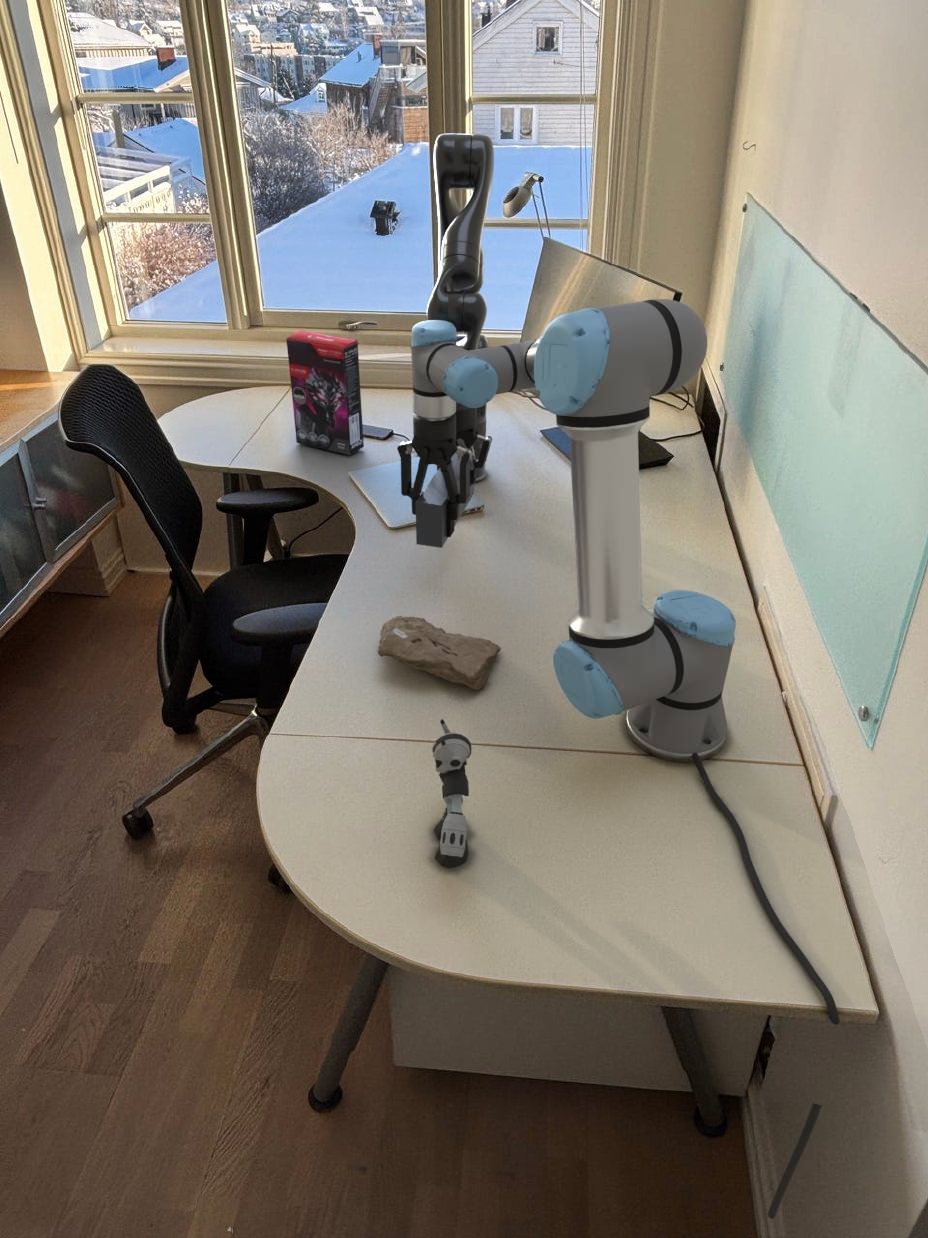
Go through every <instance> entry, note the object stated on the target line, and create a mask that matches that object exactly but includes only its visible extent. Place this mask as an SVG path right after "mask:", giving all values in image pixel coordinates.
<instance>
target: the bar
mask: <svg viewBox="0 0 928 1238" xmlns="http://www.w3.org/2000/svg"><path fill="white" fill-rule="evenodd" d="M474 455H475V454H474ZM451 459H452V467H453V471H454V475H455V479H456V483H457V487H458V490H459V494H460V462H461V461H459V459H458V454H457V453H455V454H454V455H453V456H452V458H451ZM474 495H475V483H474V484H472V486H471V487H470V496H469V498H468V500H467V501H466V503H464V504H463V503H460V504H459V517H458V518H457V520H454V528H455V527H456V526H457V523H458V522H459V520H460V519H461V517H462V515H463V513H464V511H465V510H466V508H467V507H468V506H469V503H470V501H471V499H472V498H473V496H474ZM449 501H450V500H449V496H448V492H447V488H446V485H445V481H444V477H443V473H442V472H441V470H440V468H439V469H438V471H437V470H436V472H435V474H433V476H432V478H431V479H430V480H429V482H428V483H427V485H426V486H425V488H424V489H423V491H422V492H421V494H420V496H419V498H418V499H417V501H416V502H415V503H416V515H415V540H416V541H415V542H416V545H419V546H426V547H433V548H434V547H435V548H439V549H442V548H444V545H445V544H446V542H447V540H448V539H449V537H447V530H446V505H447V504H448V502H449Z"/></svg>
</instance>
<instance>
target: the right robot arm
mask: <svg viewBox="0 0 928 1238" xmlns="http://www.w3.org/2000/svg"><path fill="white" fill-rule="evenodd" d="M544 329H545V330H544V332H543V333H542V334H541V335H540V337H539V338H536V339H531V340H526V341H519V342H513V343H509V344H502V345H495V346H489V347H488V348H482V349H476V350H469V351H468V350H465V349H463V348H461V347H459V346H458V345H457V340H458V338H457V334H458V333H456V328H455V326H454V325H453V324H452V323H450V322H447V321H442V320H423V321H419V322H418V323H416V324H414V325H413V327H412V328H411V344H410V353H411V379H412V413H413V416H412V427H413V429H412V431H413V438H412V439H411V440H409V441H407V440H402V441H401V442H400V443H399V445H398V446H397V447H396V449H397V452H398V456H399V457H400V489H401V491H400V492H401V495H402V496H403V497H408V498H410V500H411V513H412V515H413V516H416V503H415V502H416V501H417V499H418V498H419V496H420V495H421V494H422V492H423V491H422V490H423V486H424V482H425V479H426V475H427V473H428V472H427V471H428V467H429V465H434V466H436V467H437V466H440V470H441V472H442V473H443V477H444V481H445V485H446V488H447V492H448V496H449V500H450V501H449V502H448V504H447V505H446V530H447V537H448V538H452V536H453V534H454V532H455V527H454V520H457V518H458V517H459V504H460V503H463V504H464V503H466V501H467V500H468V498H469V496H470V458H471V456H472V453H473V450H472V449H471V448H468V449H464V448H462V447H460V446H459V444H458V442H457V439H456V415H455V414H454V413H455V412H456V402H457V403H461V404H462V405H464V406H466V407H469V408H478V407H482V406H484V405H485V404H486V403H489V402H490V401H492V400H493V399H494V397H495V396H496V395H501V394H506V393H510V392H517V391H522V390H529V389H536V392H537V394H539V401H540V403H541V405H542V406H543V407H544V408H545V410H546V411H548V412H549V413H550V414H553V415H555V421H556V422H555V423H556V426H557V427H558V428H559V429H560V430H561V431H563V432H564V433H565V434H566V435H567V437H568V438H569V454H570V455H569V456H570V458H569V459H570V475H571V492H572V507H573V508H572V510H573V512H572V513H573V528H574V547H575V564H576V565H575V568H576V586H577V602H578V609H577V610H575V611H574V613H572V614H571V616H570V617H569V619H568V625H567V626H568V639H567V640H563V641H561V642H560V643H559V644H557V645H556V647H555V649H554V651H553V654H552V655H553V656H552V661H553V668H554V672H555V676H556V679H557V681H558V684H559V686H560V688H561V690H562V691H563V694H564V695H565V696H566V698H567V700H568V701H569V703H570V704H571V705H572V706H573V707H574V708H575V709H576V710H577V711H578V712H579V713H581V714H582V715H583V716H585V717H587V718H589V719H594V720H597V719H603V718H606V717H610V716H613V715H615V716H616V715H617V716H618V715H621V714H622V713H623V712H626V719H625V728H626V732H627V734H628V736H629V738H630V739H631V741H632V742H634V744H636V745H637V746H638V747H639V748H640V749H641V750H643V751H645V752H646V753H648V754H650V755H651V756H654V757H656V758H659V759H662V760H666V761H670V762H675V763H694V765H695V767H696V769H697V771H698V774H699V776H700V779H701V780H702V783H703V785H704V787H705V789H706V791H707V793H708V794H709V796H710V797H711V799H712V800H713V802H714V803H715V804H716V806H717V807H718V808H719V810H720V811H721V813H722V814H723V815H724V816H725V818H726V819H727V821H728V823H729V824H730V826H731V828H732V830H733V833H734V834H735V837H736V841H737V842H738V846H739V849H740V853H741V854H740V855H741V856H742V857H741V858H742V859H743V860H742V861H743V863H744V867H745V869H746V871H747V874H748V876H749V879H750V881H751V883H752V886H753V888H754V890H755V893H756V895H757V897H758V899H759V902H760V903H761V906H762V908H763V909H764V911H765V913H766V915H767V917H768V919H769V920H770V922H771V924H772V925H773V927H774V929H775V930H776V931H777V933H778V935H779V936H780V937H781V939H782V940H783V941H784V943H785V944H786V945H787V947H788V948H789V950H790V951H791V952H792V954H793V955H794V956H795V958H796V959H797V961H798V962H799V964H800V965H801V966H802V968H803V969H804V971H805V972H806V973H807V975H808V977H809V978H810V980H811V981H812V983H813V984H814V986H815V987H816V988H817V989H818V991H819V993H820V994H821V997H822V998H823V1000H824V1002H825V1005H826V1009H827V1012H828V1016H829V1020H830V1022H831V1023H832V1024H833V1025H837V1026H838V1025H839V1024H840V1018H839V1012H838V1008H837V1005H836V1002H835V999H834V997H833V995H832V992H831V991H830V989H829V988H828V986H827V984H826V983H825V982H824V981H823V979H822V978H821V977H820V975H819V974H818V973H817V971H816V969H815V968H814V967H813V965H812V963H811V962H810V960H809V959H808V957H807V956H806V955H805V954H804V951H802V949H801V948H800V946H799V945H798V944H797V943H796V941H795V940H794V939H793V937H792V936H791V935H790V934H789V932H788V931H787V929H786V928H785V926H784V925H783V923H782V922H781V920H780V919H779V917H778V915H777V913H776V911H775V909H774V908H773V906H772V904H771V902H770V901H769V898H768V896H767V894H766V892H765V890H764V888H763V885H762V883H761V881H760V878H759V876H758V873H757V872H756V869H755V866H754V863H753V861H752V858H751V854H750V851H749V848H748V844H747V841H746V838H745V835H744V832H743V830H742V828H741V826H740V825H739V822H738V820H737V819H736V817H735V816H734V814H733V812H731V810H730V809H729V807H728V806H727V805H726V804H725V802H724V801H723V799H722V798H721V797H720V796H719V794H718V793H717V791H716V790H715V788H714V786H713V784H712V782H711V780H710V778H709V775H708V773H707V770H706V767H704V764H703V762H702V761H703V760H706V759H709V758H711V757H714V755H716V754H718V752H720V751H721V750H722V748H723V747H724V744H725V743H726V740H727V739H726V738H727V734H728V721H727V716H726V712H725V708H724V707H725V706H724V701H723V692H724V687H725V682H726V678H727V674H728V669H729V664H730V661H731V654H732V652H733V647H734V644H735V641H736V637H735V632H736V627H737V626H736V625H737V623H736V617H735V615H734V614H733V612H732V610H731V609H730V608H729V607H728V606H727V605H726V604H724V603H723V602H722V601H720V600H719V599H717V598H715V597H712V596H710V595H707V594H705V593H702V592H698V591H693V590H686V589H685V590H684V589H675V590H669V591H665V592H663V593H661V594H659V596H657V597H656V600H655V602H654V604H653V607H652V608H653V612H652V613H651V611H650V610H648V609H647V608H646V607H645V606H644V605H643V580H642V579H643V577H642V576H643V575H642V574H643V573H642V542H641V541H642V539H641V538H642V537H641V535H642V534H641V503H640V501H641V500H640V464H639V457H640V456H639V432H640V431H641V429H642V428H643V426H644V425H645V424H646V423H647V422H648V421H649V420H650V419H651V418H650V417H651V408H650V405H651V404H650V403H651V402H650V400H651V399H650V398H652V397H657V396H661V395H665V394H668V393H671V392H674V391H677V390H678V389H680V388H681V387H684V386H685V385H687V384H688V383H689V382H690V381H692V379H694V378H695V377H696V375H697V374H698V373H699V372H700V369H701V368H702V366H703V365H704V361H705V359H706V356H707V352H708V335H707V330H706V327H705V325H704V322H703V320H702V319H701V318H700V316H699V315H698V314H697V313H696V311H694V310H693V309H692V308H690V307H689V306H688V305H687V304H685V303H683V302H680V301H677V300H674V299H670V298H653V299H646V300H643V301H635V302H628V303H620V304H611V305H605V306H598V307H587V308H581V309H579V310H575V311H571V312H568V313H564V314H561V315H559V316H557V317H556V318H553V320H551V321H550V322H549V323H548V325H546V327H545V328H544ZM413 450H414V452H415V453H416V454H417V456H418V458H419V460H418V465H417V471H416V475H415V478H414V483H413V481H412V452H413ZM455 453H457V454H458V459H459V461H461V462H460V494H459V490H458V487H457V483H456V479H455V475H454V471H453V467H452V459H451V458H452V456H453V455H454V454H455ZM412 483H413V484H412ZM412 485H413V486H412ZM822 1107H823V1105H821V1104H817V1103H814V1102H812V1104H811V1107H810V1110H809V1113H808V1115H807V1119H806V1120H805V1123H804V1127H803V1128H802V1131H801V1133H800V1136H799V1138H798V1140H797V1143H796V1145H795V1147H794V1150H793V1152H792V1154H791V1157H790V1158H789V1160H788V1163H787V1165H786V1168H785V1170H784V1172H783V1174H782V1177H781V1178H780V1181H779V1184H778V1185H777V1188H776V1190H775V1193H774V1195H773V1198H772V1201H771V1204H770V1206H769V1208H768V1212H767V1216H768V1218H769V1219H771V1220H774V1219H776V1217H777V1213H778V1211H779V1208H780V1206H781V1204H782V1201H783V1199H784V1196H785V1193H786V1191H787V1189H788V1186H789V1184H790V1182H791V1180H792V1178H793V1175H794V1173H795V1171H796V1169H797V1167H798V1165H799V1162H800V1161H801V1158H802V1156H803V1154H804V1151H805V1150H806V1147H807V1144H808V1142H809V1140H810V1138H811V1136H812V1133H813V1130H814V1128H815V1125H816V1123H817V1120H818V1118H819V1115H820V1112H821V1109H822Z"/></svg>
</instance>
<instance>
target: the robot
mask: <svg viewBox="0 0 928 1238" xmlns="http://www.w3.org/2000/svg"><path fill="white" fill-rule="evenodd" d="M439 722H440V725H441V727H442V730H443V733H444V734H442V735H441V736H439V737H438V738H437V739H436V740H435V741H434V742H433V745H432V747H431V752H432V757H433V758H434V761H435V771H436V772H437V773H439V774H438V776H439V779H440V781H441V783H442V785H441V792H442V794H441V795H442V799H443V801H444V802H445V805H446V807H445V808H444V812H443V813H442V816H441V819H440V820H439V821H438V823H437V824H435V826H434V828H433V833H434V834H435V836H436V838H437V839H438V840H439V841H440V842H439V845H438V848H437V849H436V852H435V855H434V859H435V860H436V861H437V862H438V863H439V865H441V866H443V867H447V868H453V867H457V866H459V865H461V864H463V863H466V862H467V859H468V856H469V854H470V853H469V844H468V840H467V837H468V823H467V818H466V815H464V813H463V810H462V806H463V804H464V798H463V797H469V795H470V794H469V793H470V788H469V787H470V786H469V779H468V776H467V774H466V766H467V765H468V762H467V760H468V759H469V758H470V757H471V755H472V749H473V748H472V743H471V741H470V739H468V738H467V736H465V735H464V734H462V733H460V732H457V731H450V729H449V727H448V725H447V723H446V722H445V720H444V719H443V718H441V719H440V720H439Z"/></svg>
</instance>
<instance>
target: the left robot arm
mask: <svg viewBox="0 0 928 1238" xmlns="http://www.w3.org/2000/svg"><path fill="white" fill-rule="evenodd" d="M494 166H495V150H494V143H493V141H492V138H491V137H490V136H488V135H486V134H479V133H478V134H477V133H473V134H472V133H442V134H439V135H438V136H437V137H436V140H435V143H434V147H433V170H434V171H433V172H434V182H435V183H434V185H435V195H436V206H437V207H436V209H437V223H438V225H437V226H438V227H437V228H438V235H437V236H438V241H437V243H438V244H437V245H438V246H437V247H438V249H437V250H438V251H437V252H438V253H437V254H438V255H437V262H438V263H437V264H438V266H437V267H438V269H437V270H438V277H437V281H436V283H435V285H434V287H433V290H432V293H431V295H430V298H429V301H428V303H427V306H426V319H427V320H426V321H428V320H442V321H447V322H450V323H452V324H453V325H454V326H455V328H456V334H457V338H458V340H457V345H458V346H459V347H461V348H463V349H465V350H468V351H469V350H476V349H482V348H488V347H490V344H489V340H488V338H487V337H486V336H485V335H484V334H482V331H483V329H484V325H485V321H486V318H487V315H488V305H487V302H486V300H485V298H484V297H483V295H482V294H481V293H480V291H481V290H482V287H483V284H484V273H485V272H484V266H485V263H484V262H485V254H484V249H483V247H482V238H483V231H484V226H485V221H486V216H487V212H488V206H489V202H490V197H491V190H492V184H493V179H494V178H493V177H494V169H495V167H494ZM454 190H472V193H471V195H470V197H469V198H468V201H467V203H465V205H464V207H463V208H462V209H461V210H460V208H459V205H458V202H457V198H456V195H455V191H454ZM487 403H488V402H487ZM487 403H486V404H485V405H484V406H482V407H478V408H469V407H466V406H464V405H462V404H461V403H457V402H456V412H455V413H454V414H455V415H456V439H457V442H458V444H459V446H460V447H462V448H464V449H468V448H471V449H472V450H473V453H472V456H471V458H470V487H471V486H472V484H474V485H475V483H477V482H479V481H482V480H483V479H484V478H485V477H486V471H487V470H486V463H487V459H488V455H489V452H490V448H491V445H492V442H493V438H492V436H491V435H487V410H488V409H487V407H488V406H487V405H488V404H487ZM474 454H475V455H474ZM439 468H440V466H437V465H436V472H437V471H438V469H439Z"/></svg>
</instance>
